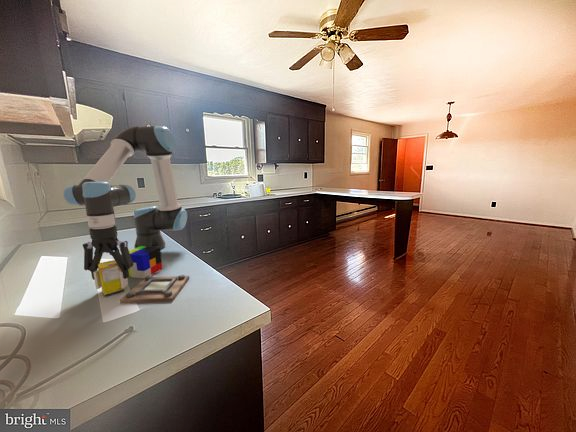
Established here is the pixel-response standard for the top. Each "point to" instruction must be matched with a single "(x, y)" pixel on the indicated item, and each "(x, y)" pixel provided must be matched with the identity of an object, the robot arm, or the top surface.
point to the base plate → (156, 289)
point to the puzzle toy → (145, 261)
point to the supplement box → (110, 277)
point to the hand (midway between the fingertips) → (112, 286)
